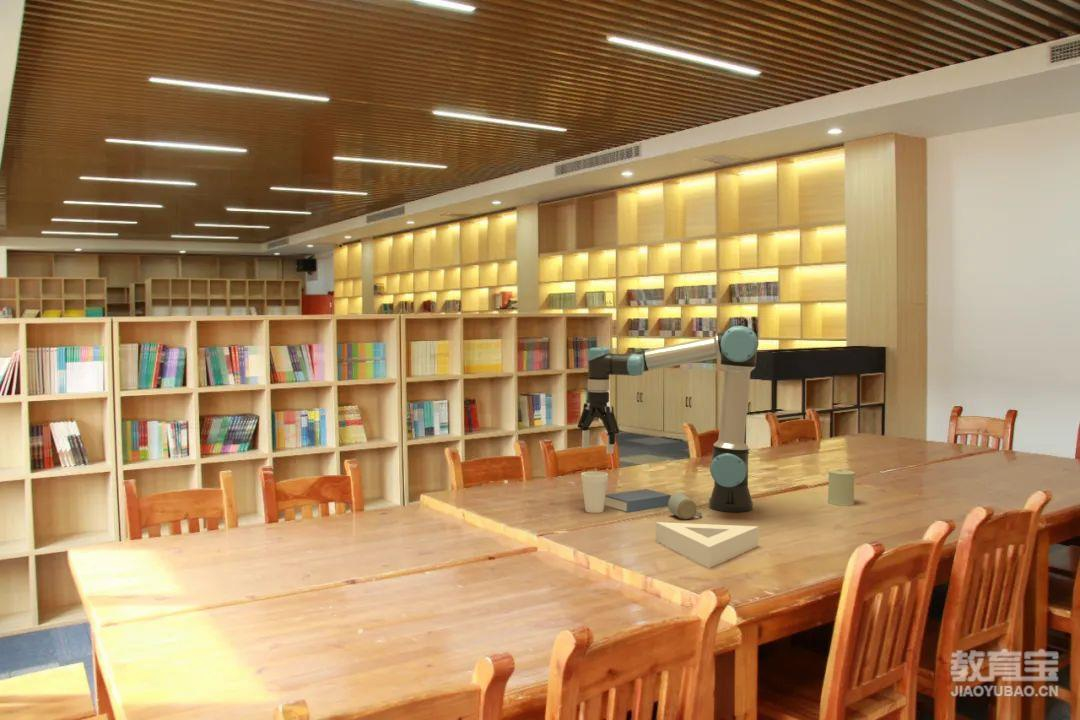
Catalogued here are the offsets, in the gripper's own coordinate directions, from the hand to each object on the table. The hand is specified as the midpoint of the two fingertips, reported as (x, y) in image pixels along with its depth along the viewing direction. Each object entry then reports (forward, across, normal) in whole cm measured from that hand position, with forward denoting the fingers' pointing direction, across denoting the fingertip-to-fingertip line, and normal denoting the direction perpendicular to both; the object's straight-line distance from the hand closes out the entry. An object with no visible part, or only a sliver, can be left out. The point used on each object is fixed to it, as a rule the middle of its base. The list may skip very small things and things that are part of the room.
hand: (597, 451), depth 298 cm
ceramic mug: (+20, -29, -15) cm, 38 cm away
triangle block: (+20, -64, +6) cm, 68 cm away
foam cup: (+20, -4, +4) cm, 21 cm away
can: (+20, -45, -79) cm, 93 cm away
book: (+20, -6, -14) cm, 25 cm away
